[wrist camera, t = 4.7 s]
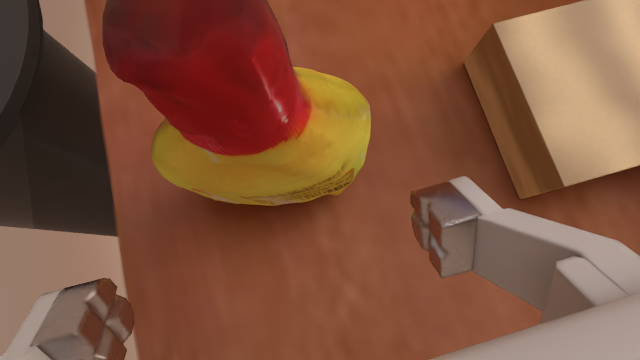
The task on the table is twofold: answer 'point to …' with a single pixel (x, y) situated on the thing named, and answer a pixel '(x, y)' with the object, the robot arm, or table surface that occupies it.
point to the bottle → (236, 101)
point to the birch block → (562, 92)
